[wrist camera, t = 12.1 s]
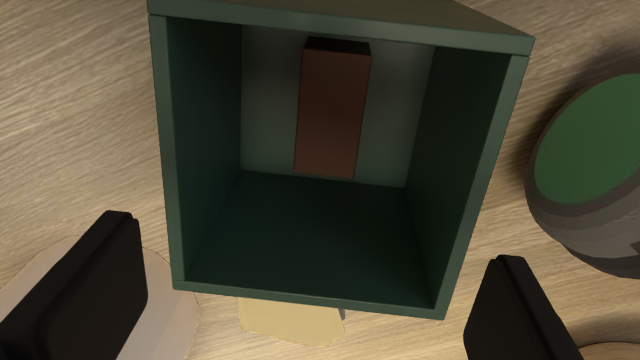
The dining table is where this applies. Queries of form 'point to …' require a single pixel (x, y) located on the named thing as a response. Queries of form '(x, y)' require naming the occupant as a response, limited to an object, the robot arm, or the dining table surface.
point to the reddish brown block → (331, 106)
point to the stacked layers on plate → (292, 321)
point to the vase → (611, 351)
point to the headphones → (593, 173)
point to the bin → (325, 191)
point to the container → (153, 325)
